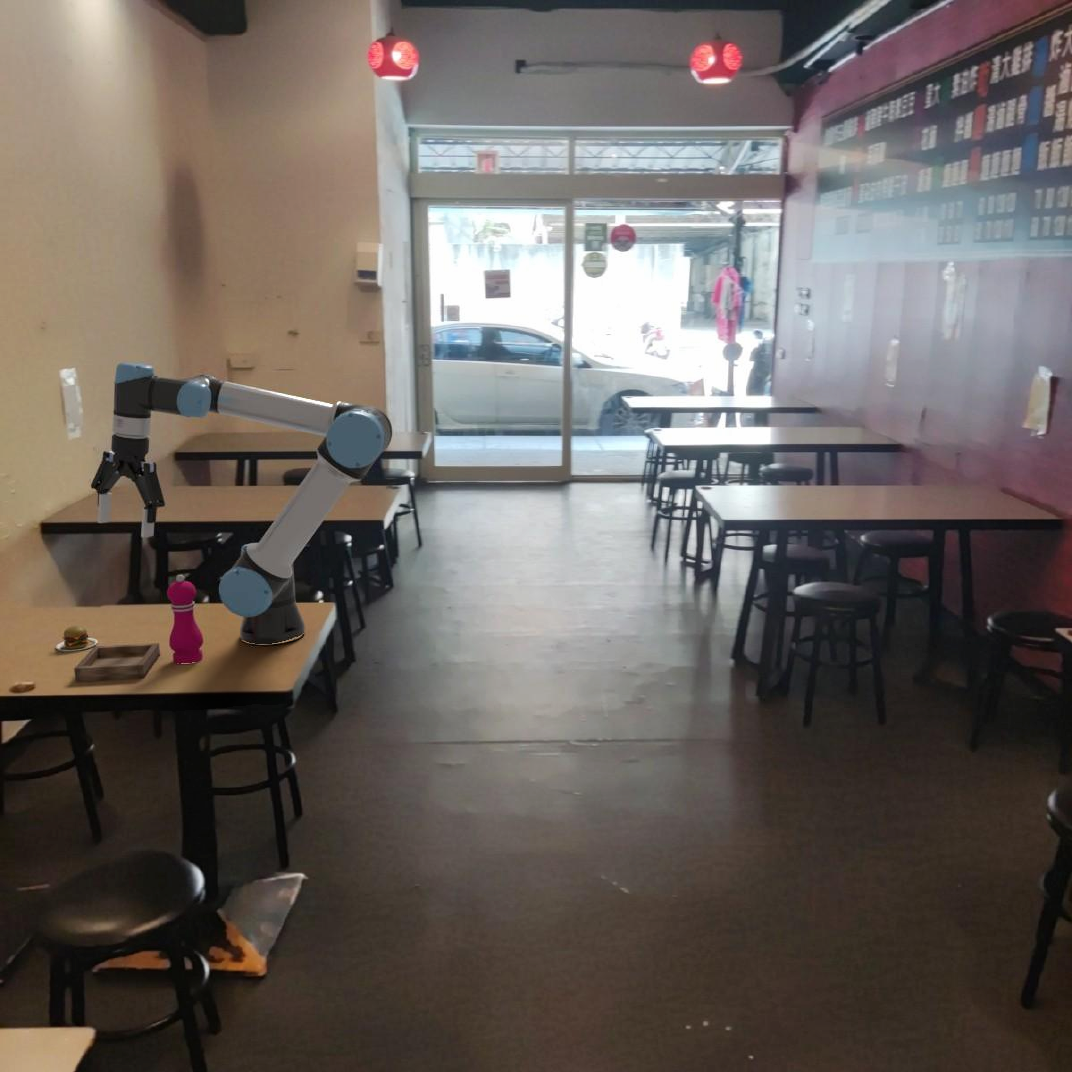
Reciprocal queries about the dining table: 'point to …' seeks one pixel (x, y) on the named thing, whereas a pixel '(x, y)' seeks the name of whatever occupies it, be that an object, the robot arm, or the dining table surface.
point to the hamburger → (76, 639)
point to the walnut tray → (117, 662)
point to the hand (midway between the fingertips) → (125, 529)
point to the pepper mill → (184, 623)
